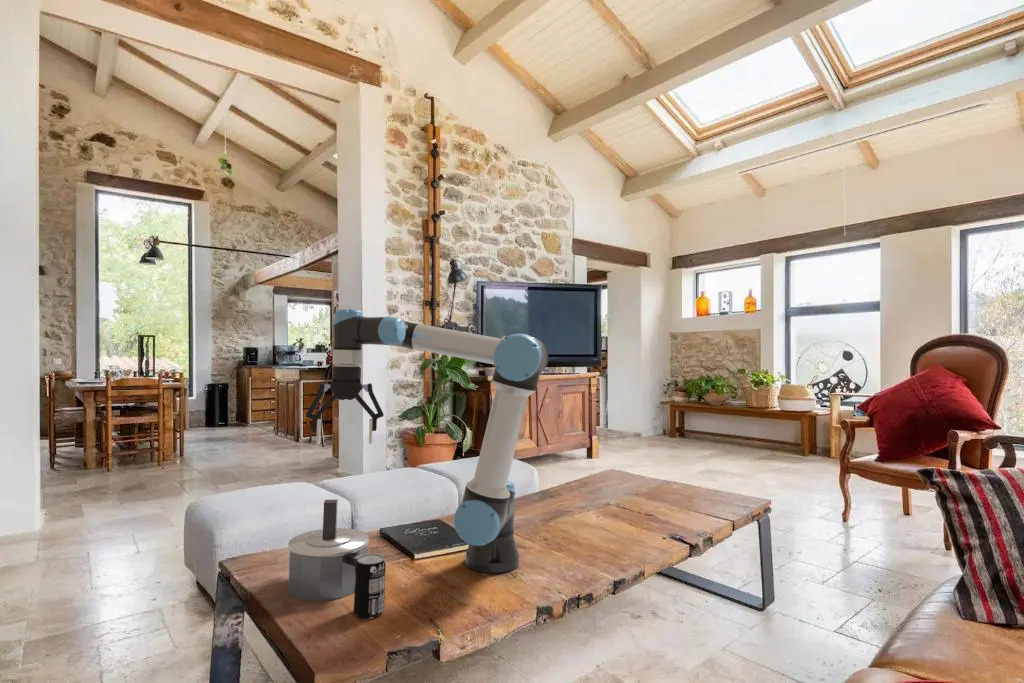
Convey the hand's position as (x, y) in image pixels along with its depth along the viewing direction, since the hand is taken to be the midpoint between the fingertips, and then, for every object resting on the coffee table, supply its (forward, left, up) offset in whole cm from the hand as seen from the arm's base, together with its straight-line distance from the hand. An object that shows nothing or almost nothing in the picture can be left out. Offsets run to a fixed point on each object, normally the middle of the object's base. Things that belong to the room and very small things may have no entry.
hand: (344, 443), depth 148 cm
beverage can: (-28, +12, -33) cm, 45 cm away
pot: (-8, +9, -33) cm, 35 cm away
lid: (-8, +9, -23) cm, 26 cm away
